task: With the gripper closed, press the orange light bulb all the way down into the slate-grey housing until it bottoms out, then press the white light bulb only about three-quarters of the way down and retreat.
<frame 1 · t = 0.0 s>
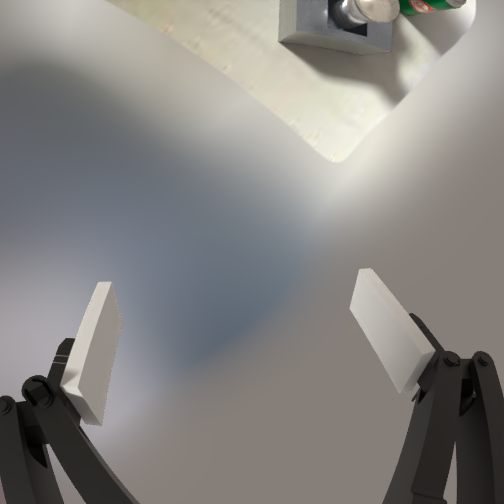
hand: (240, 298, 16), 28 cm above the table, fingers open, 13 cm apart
soda can: (404, 2, 30), on the table
white light bulb: (360, 8, 22), point 11 cm above the table, slide at 0.0 cm
housing: (323, 1, 30), on the table
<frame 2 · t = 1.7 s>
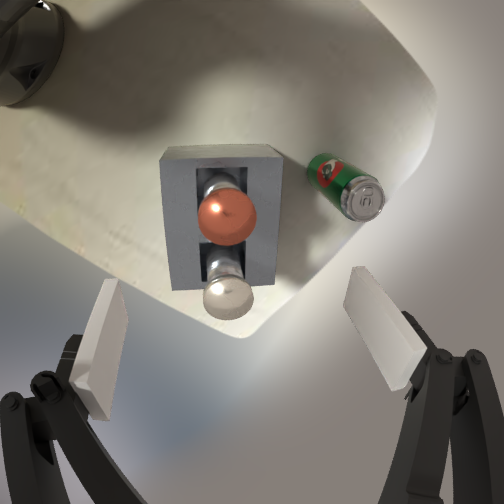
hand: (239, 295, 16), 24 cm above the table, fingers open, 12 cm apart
soda can: (323, 170, 39), on the table
orange light bulb: (224, 202, 27), point 11 cm above the table, slide at 0.0 cm
white light bulb: (225, 277, 31), point 11 cm above the table, slide at 0.0 cm
housing: (218, 202, 39), on the table
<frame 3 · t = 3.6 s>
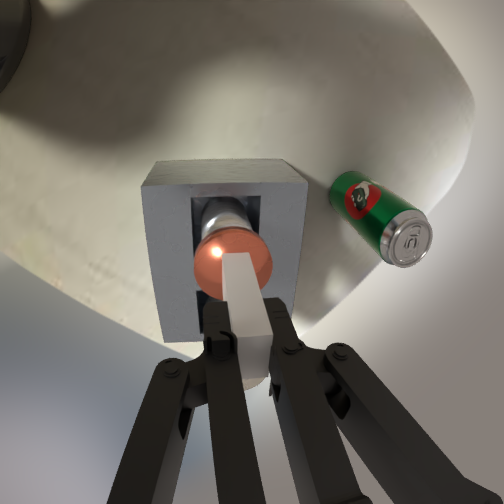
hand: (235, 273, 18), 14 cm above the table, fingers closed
soda can: (348, 191, 32), on the table
orange light bulb: (227, 238, 21), point 10 cm above the table, slide at 1.3 cm, touching gripper
white light bulb: (229, 335, 24), point 11 cm above the table, slide at 0.0 cm
housing: (219, 231, 32), on the table
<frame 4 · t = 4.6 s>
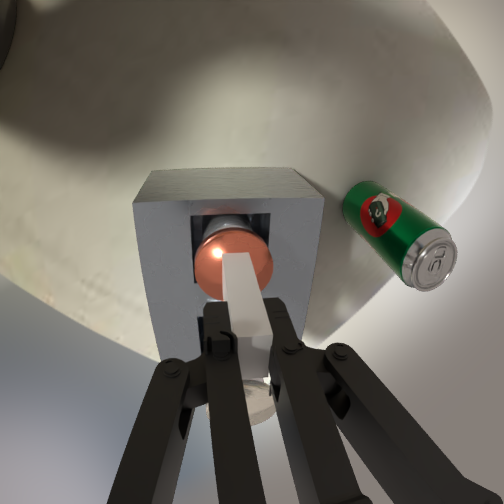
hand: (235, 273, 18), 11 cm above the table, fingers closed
soda can: (362, 202, 29), on the table
orange light bulb: (228, 239, 21), point 7 cm above the table, slide at 4.5 cm, touching gripper
white light bulb: (234, 366, 21), point 11 cm above the table, slide at 0.0 cm
housing: (222, 246, 29), on the table
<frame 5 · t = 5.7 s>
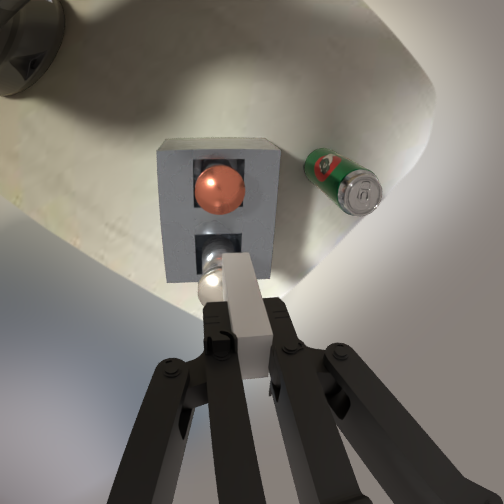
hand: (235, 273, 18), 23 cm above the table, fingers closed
soda can: (320, 165, 39), on the table
orange light bulb: (217, 179, 31), point 6 cm above the table, slide at 4.5 cm
white light bulb: (220, 269, 31), point 11 cm above the table, slide at 0.0 cm
housing: (214, 195, 38), on the table
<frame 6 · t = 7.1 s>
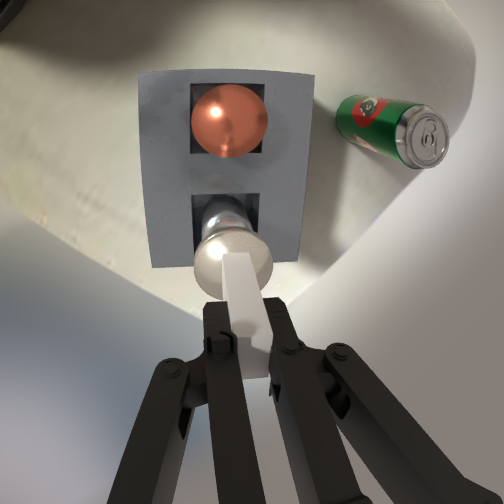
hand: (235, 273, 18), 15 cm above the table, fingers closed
soda can: (354, 118, 28), on the table
orange light bulb: (225, 116, 21), point 6 cm above the table, slide at 4.5 cm
white light bulb: (228, 238, 21), point 10 cm above the table, slide at 0.8 cm, touching gripper
housing: (219, 152, 28), on the table
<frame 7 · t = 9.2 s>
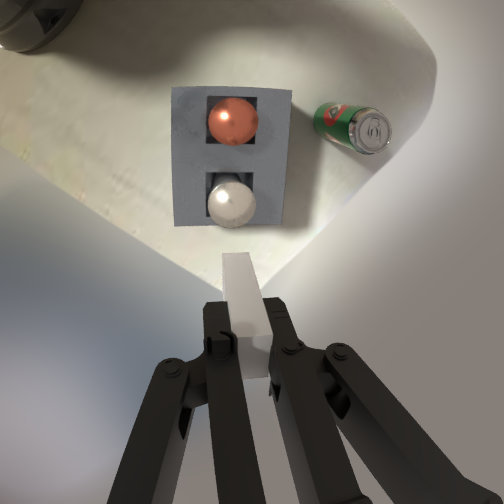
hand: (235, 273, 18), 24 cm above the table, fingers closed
soda can: (329, 120, 38), on the table
orange light bulb: (230, 119, 30), point 6 cm above the table, slide at 4.5 cm
white light bulb: (228, 193, 33), point 8 cm above the table, slide at 3.5 cm
housing: (225, 146, 37), on the table
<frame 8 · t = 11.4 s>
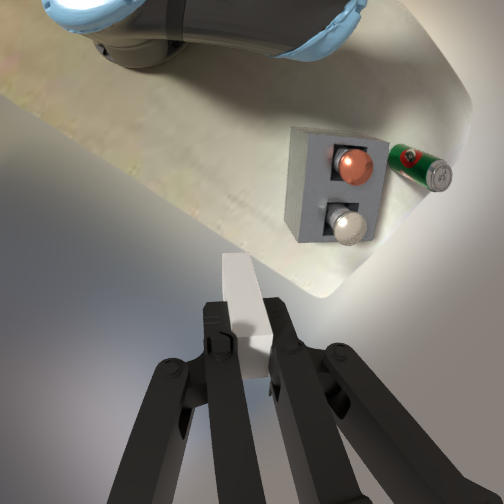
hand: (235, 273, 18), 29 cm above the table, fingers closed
soda can: (397, 157, 47), on the table
orange light bulb: (344, 160, 39), point 6 cm above the table, slide at 4.5 cm
white light bulb: (339, 217, 42), point 8 cm above the table, slide at 3.5 cm
housing: (324, 176, 47), on the table
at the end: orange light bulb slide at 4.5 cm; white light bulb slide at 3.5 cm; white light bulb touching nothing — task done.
